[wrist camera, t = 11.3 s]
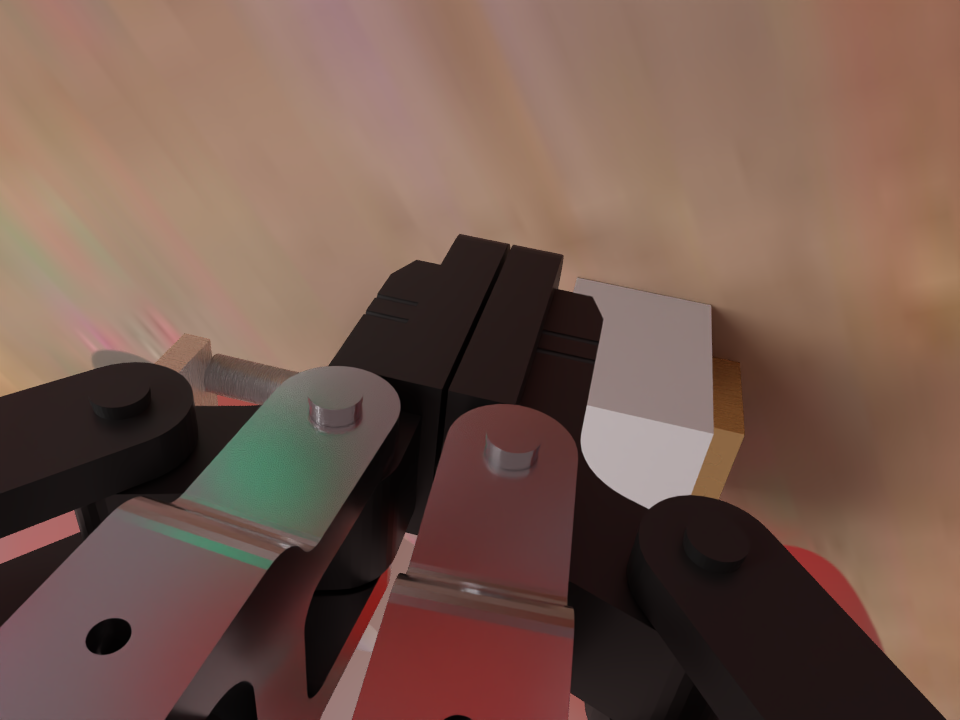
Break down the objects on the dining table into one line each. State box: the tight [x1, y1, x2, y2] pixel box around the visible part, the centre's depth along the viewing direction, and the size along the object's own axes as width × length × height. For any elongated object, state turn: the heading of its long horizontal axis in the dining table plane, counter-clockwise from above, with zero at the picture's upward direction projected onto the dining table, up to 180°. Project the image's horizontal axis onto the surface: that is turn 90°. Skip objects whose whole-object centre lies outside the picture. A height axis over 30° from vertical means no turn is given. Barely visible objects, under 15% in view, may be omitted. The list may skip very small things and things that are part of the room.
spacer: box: [691, 357, 745, 500], centre depth 47 cm, size 2×7×7 cm, turn 173°
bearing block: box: [573, 278, 714, 509], centre depth 46 cm, size 8×14×12 cm, turn 174°
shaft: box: [155, 334, 299, 406], centre depth 43 cm, size 26×5×8 cm, turn 84°
